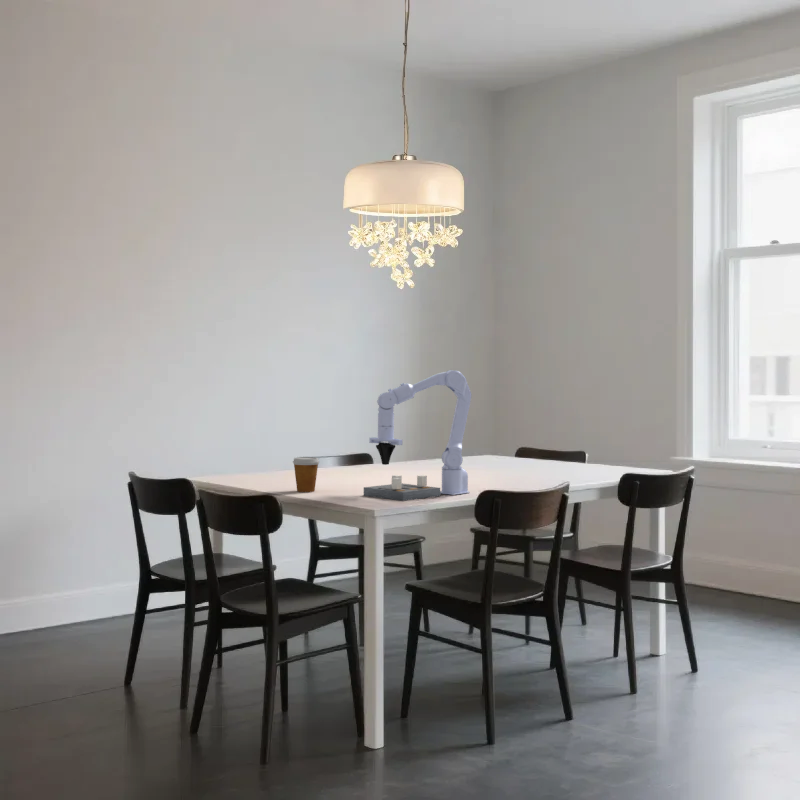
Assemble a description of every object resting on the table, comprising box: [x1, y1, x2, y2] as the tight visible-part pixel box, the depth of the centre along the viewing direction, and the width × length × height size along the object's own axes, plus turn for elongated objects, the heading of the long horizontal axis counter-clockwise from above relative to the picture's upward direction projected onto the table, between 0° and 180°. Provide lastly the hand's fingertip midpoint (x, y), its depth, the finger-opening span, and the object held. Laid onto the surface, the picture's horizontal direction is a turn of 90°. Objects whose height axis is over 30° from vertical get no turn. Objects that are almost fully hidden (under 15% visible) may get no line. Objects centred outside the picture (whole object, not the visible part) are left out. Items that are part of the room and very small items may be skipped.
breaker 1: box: [391, 477, 403, 489], centre depth 357 cm, size 2×2×4 cm
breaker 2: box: [416, 474, 428, 486], centre depth 367 cm, size 2×2×4 cm
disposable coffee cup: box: [292, 456, 320, 493], centre depth 375 cm, size 10×10×12 cm
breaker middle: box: [391, 474, 403, 486], centre depth 366 cm, size 2×2×4 cm
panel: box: [363, 483, 441, 502], centre depth 364 cm, size 19×19×3 cm
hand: (385, 464), depth 370 cm, fingers closed
